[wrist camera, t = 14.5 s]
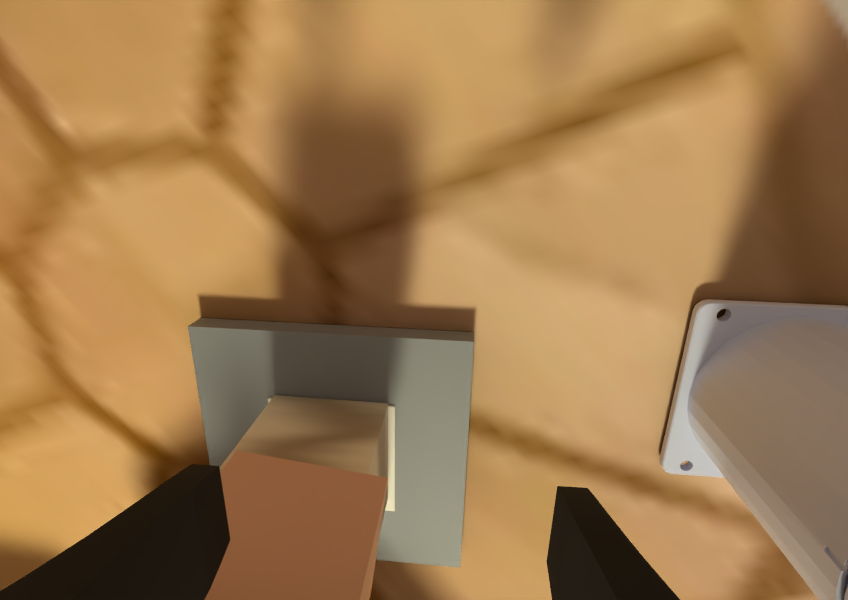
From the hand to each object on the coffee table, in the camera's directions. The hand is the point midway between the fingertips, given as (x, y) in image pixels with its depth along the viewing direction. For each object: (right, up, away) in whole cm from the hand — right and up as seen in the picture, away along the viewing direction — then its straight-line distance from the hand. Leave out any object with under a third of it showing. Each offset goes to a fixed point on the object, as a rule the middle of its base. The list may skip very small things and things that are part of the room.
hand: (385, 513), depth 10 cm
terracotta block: (-3, -3, +6) cm, 7 cm away
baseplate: (-3, -2, +12) cm, 13 cm away
